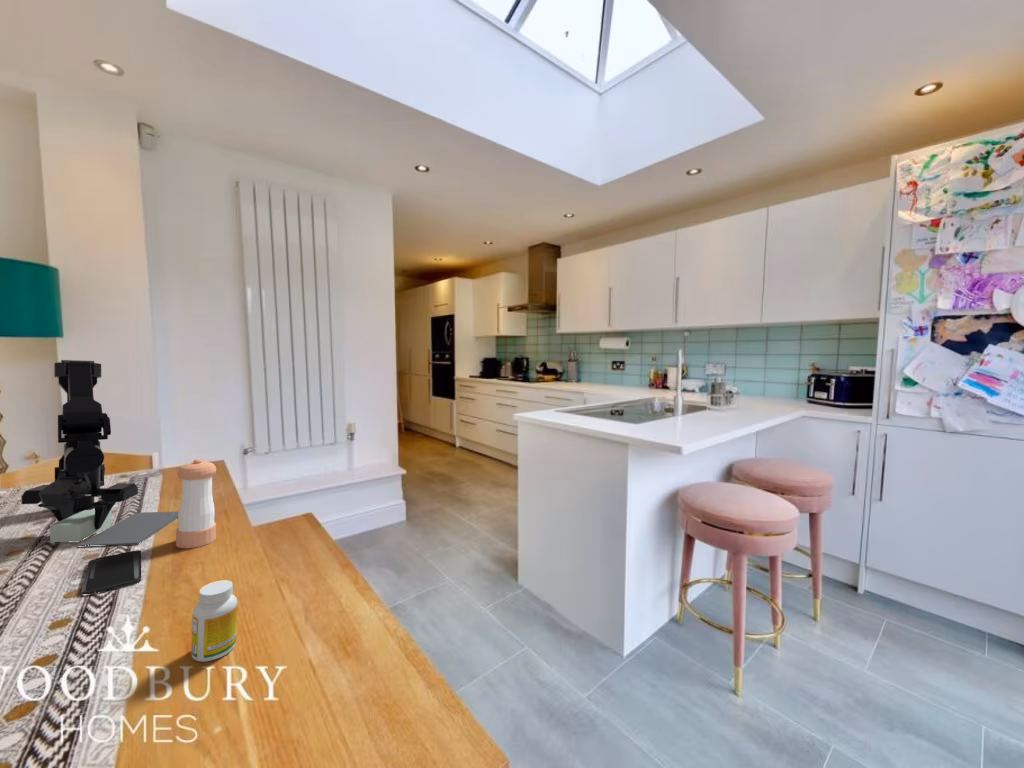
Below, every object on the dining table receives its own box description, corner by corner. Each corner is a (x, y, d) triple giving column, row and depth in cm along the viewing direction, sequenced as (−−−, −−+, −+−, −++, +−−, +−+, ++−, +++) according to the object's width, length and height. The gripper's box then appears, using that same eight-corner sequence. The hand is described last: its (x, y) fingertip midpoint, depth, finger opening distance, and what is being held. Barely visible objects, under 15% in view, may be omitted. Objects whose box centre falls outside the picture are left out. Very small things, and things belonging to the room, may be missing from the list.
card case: (84, 526, 97) (84, 510, 97) (111, 525, 98) (111, 509, 98) (50, 543, 89) (50, 525, 88) (80, 542, 90) (80, 524, 89)
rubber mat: (136, 514, 106) (136, 512, 106) (184, 513, 108) (184, 511, 108) (77, 547, 87) (77, 545, 87) (138, 544, 90) (138, 542, 90)
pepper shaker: (187, 535, 96) (188, 455, 95) (221, 534, 97) (223, 455, 96) (168, 549, 89) (169, 463, 88) (205, 547, 90) (207, 463, 89)
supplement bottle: (181, 661, 57) (182, 596, 57) (210, 636, 63) (212, 576, 62) (218, 664, 57) (219, 599, 57) (244, 639, 62) (246, 578, 62)
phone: (141, 549, 87) (141, 579, 76) (141, 554, 87) (141, 584, 76) (88, 560, 81) (79, 593, 70) (88, 565, 81) (79, 600, 70)
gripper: (-5, 473, 83) (-4, 547, 83) (105, 472, 87) (105, 542, 88) (43, 460, 93) (44, 525, 94) (139, 459, 98) (139, 522, 99)
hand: (82, 529), depth 93 cm, fingers closed on card case, 6 cm apart
